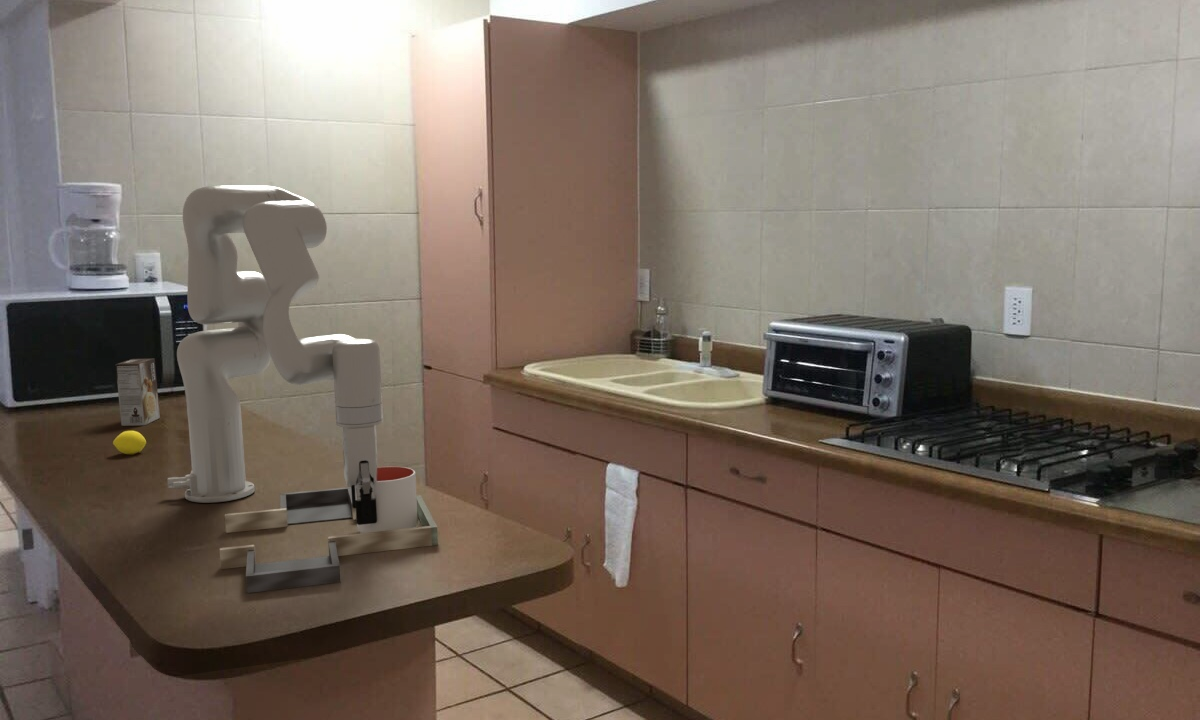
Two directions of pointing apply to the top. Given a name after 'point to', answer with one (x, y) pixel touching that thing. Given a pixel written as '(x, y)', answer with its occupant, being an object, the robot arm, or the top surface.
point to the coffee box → (137, 392)
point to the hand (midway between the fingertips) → (364, 515)
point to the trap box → (328, 568)
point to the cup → (393, 500)
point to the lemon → (130, 442)
